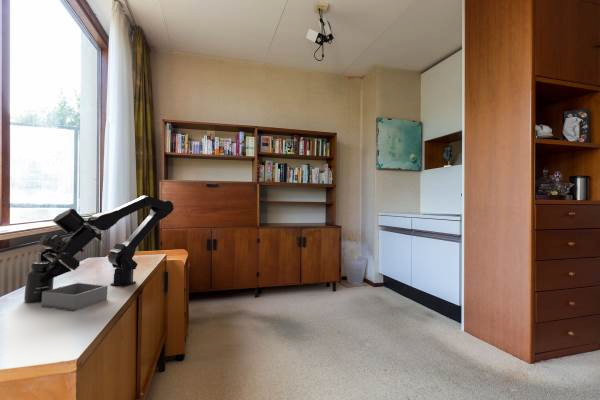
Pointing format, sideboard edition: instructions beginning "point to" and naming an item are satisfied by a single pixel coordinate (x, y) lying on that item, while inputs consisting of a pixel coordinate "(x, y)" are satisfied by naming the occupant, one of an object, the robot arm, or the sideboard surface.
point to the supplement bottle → (37, 282)
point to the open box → (74, 296)
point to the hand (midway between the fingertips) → (34, 279)
